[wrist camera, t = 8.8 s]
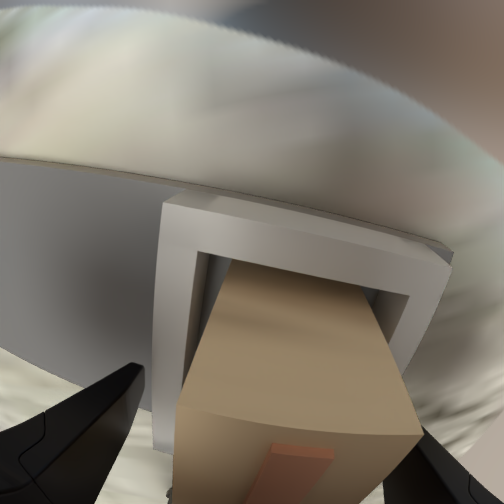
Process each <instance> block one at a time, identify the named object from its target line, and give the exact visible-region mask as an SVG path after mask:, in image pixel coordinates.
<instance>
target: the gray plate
mask: <svg viewBox="0 0 504 504" xmlns="http://www.w3.org/2000/svg"><path fill="white" fill-rule="evenodd" d="M453 253H454V252H453V251H452V250H450V249H449V248H448V247H446V246H445V245H444V244H442V243H440V242H437V241H434V240H430V239H427V238H423V237H420V236H416V235H413V234H409V233H406V232H402V231H398V230H395V229H391V228H387V227H383V226H380V225H376V224H372V223H368V222H364V221H360V220H357V219H353V218H349V217H345V216H341V215H336V214H332V213H328V212H324V211H320V210H316V209H311V208H307V207H303V206H298V205H294V204H290V203H285V202H281V201H276V200H271V199H267V198H262V197H257V196H253V195H248V194H243V193H238V192H233V191H228V190H223V189H218V188H213V187H207V186H202V185H197V184H191V183H186V182H180V181H175V180H169V179H163V178H157V177H151V176H145V175H139V174H132V173H126V172H119V171H113V170H106V169H99V168H92V167H84V166H77V165H69V164H61V163H53V162H44V161H35V160H25V159H15V158H5V157H0V347H1V348H3V349H5V350H7V351H8V352H10V353H12V354H14V355H16V356H18V357H19V358H21V359H23V360H25V361H27V362H29V363H31V364H33V365H35V366H37V367H39V368H41V369H43V370H45V371H47V372H49V373H51V374H54V375H56V376H58V377H60V378H62V379H65V380H67V381H69V382H71V383H74V384H76V385H79V386H81V387H83V388H87V387H88V386H90V385H92V384H94V383H95V382H97V381H99V380H101V379H102V378H104V377H106V376H108V375H109V374H111V373H113V372H114V371H116V370H118V369H120V368H121V367H123V366H125V365H126V364H128V363H130V362H134V363H138V364H141V365H143V366H144V368H145V389H144V392H143V395H142V398H141V401H140V403H139V406H138V408H141V409H144V410H147V411H150V412H152V430H153V449H154V450H158V451H161V452H164V453H168V454H172V455H173V454H174V433H175V416H176V404H177V401H178V398H179V396H180V393H181V390H182V388H183V385H184V382H185V380H186V377H187V374H188V372H189V369H190V366H191V364H192V361H193V359H194V356H195V353H196V351H197V348H198V345H199V343H200V340H201V338H202V335H203V332H204V330H205V327H206V325H207V322H208V319H209V317H210V314H211V312H212V309H213V306H214V304H215V301H216V299H217V296H218V294H219V291H220V289H221V286H222V283H223V281H224V278H225V276H226V273H227V271H228V268H229V266H230V263H231V260H232V258H233V259H237V260H242V261H247V262H251V263H256V264H261V265H265V266H270V267H275V268H279V269H284V270H289V271H293V272H298V273H303V274H307V275H312V276H317V277H322V278H326V279H331V280H336V281H341V282H346V283H350V284H355V285H360V287H361V289H362V291H363V293H364V295H365V297H366V299H367V301H368V303H369V305H370V307H371V309H372V311H373V314H374V316H375V318H376V320H377V322H378V324H379V326H380V329H381V331H382V333H383V335H384V337H385V340H386V342H387V344H388V346H389V349H390V351H391V353H392V355H393V358H394V360H395V362H396V365H397V367H398V369H399V372H400V374H401V377H402V375H403V373H404V372H405V370H406V368H407V366H408V364H409V363H410V361H411V359H412V357H413V355H414V353H415V351H416V349H417V348H418V346H419V344H420V342H421V340H422V338H423V336H424V334H425V332H426V330H427V328H428V326H429V323H430V321H431V319H432V317H433V315H434V313H435V310H436V308H437V306H438V304H439V302H440V299H441V297H442V295H443V292H444V290H445V287H446V285H447V283H448V280H449V278H450V275H451V273H452V270H453V268H452V267H451V266H450V265H449V264H450V262H451V259H452V256H453Z"/></svg>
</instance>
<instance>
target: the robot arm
mask: <svg viewBox="0 0 504 504" xmlns="http://www.w3.org/2000/svg"><path fill="white" fill-rule="evenodd" d="M144 389H145V368H144V366H143V365H141V364H138V363H134V362H130V363H128V364H126V365H125V366H123V367H121V368H120V369H118V370H116V371H114V372H113V373H111V374H109V375H108V376H106V377H104V378H102V379H101V380H99V381H97V382H95V383H94V384H92V385H90V386H88V387H87V388H85V389H83V390H81V391H80V392H78V393H76V394H74V395H73V396H71V397H69V398H67V399H65V400H64V401H62V402H60V403H58V404H57V405H55V406H53V407H51V408H49V409H47V410H46V411H45V412H42V413H40V414H38V415H36V416H35V417H33V418H31V419H29V420H27V421H25V422H23V423H21V424H18V425H16V426H14V427H11V428H9V429H6V430H4V431H1V432H0V504H94V503H95V501H96V499H97V497H98V495H99V493H100V491H101V489H102V487H103V485H104V483H105V480H106V478H107V476H108V474H109V472H110V470H111V468H112V466H113V464H114V462H115V460H116V458H117V456H118V454H119V452H120V450H121V448H122V446H123V444H124V442H125V440H126V438H127V436H128V434H129V432H130V429H131V426H132V423H133V421H134V418H135V415H136V412H137V409H138V406H139V403H140V401H141V398H142V395H143V392H144ZM421 427H422V430H423V433H424V435H423V436H422V438H421V439H420V440H419V441H418V443H417V444H416V445H415V446H414V447H413V448H412V450H411V451H410V452H409V453H408V454H407V455H406V456H405V458H404V459H403V460H402V461H401V462H400V463H399V464H398V465H397V466H396V467H395V469H394V470H393V471H392V472H391V473H390V474H389V475H388V476H387V477H386V478H385V479H384V480H383V491H384V501H385V504H504V503H503V502H502V501H500V500H499V499H498V498H496V497H495V496H494V495H493V494H492V493H490V492H489V491H488V490H487V489H486V488H484V486H483V485H481V484H480V483H479V482H478V481H477V480H476V479H475V478H474V477H473V476H472V475H471V474H469V472H468V471H467V470H466V469H465V468H464V467H463V466H462V465H461V464H460V463H459V462H458V461H457V460H456V459H455V458H454V457H453V456H452V455H451V454H450V453H449V452H448V451H447V450H446V449H445V448H444V447H443V446H442V445H441V444H440V443H439V442H438V441H437V440H436V439H435V438H434V437H433V436H432V435H431V434H430V433H429V432H428V431H427V430H426V429H425V428H424V427H423V426H422V425H421ZM166 497H167V498H169V500H168V504H172V489H171V490H168V491H167V494H166Z"/></svg>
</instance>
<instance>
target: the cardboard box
mask: <svg viewBox="0 0 504 504" xmlns="http://www.w3.org/2000/svg"><path fill="white" fill-rule="evenodd" d="M423 435H424V433H423V430H422V427H421V424H420V422H419V419H418V417H417V414H416V411H415V409H414V406H413V404H412V401H411V399H410V396H409V394H408V391H407V389H406V386H405V384H404V381H403V379H402V377H401V374H400V372H399V369H398V367H397V365H396V362H395V360H394V358H393V355H392V353H391V351H390V349H389V346H388V344H387V342H386V340H385V337H384V335H383V333H382V331H381V329H380V326H379V324H378V322H377V320H376V318H375V316H374V314H373V311H372V309H371V307H370V305H369V303H368V301H367V299H366V297H365V295H364V293H363V291H362V289H361V287H360V285H355V284H350V283H346V282H341V281H336V280H331V279H326V278H322V277H317V276H312V275H307V274H303V273H298V272H293V271H289V270H284V269H279V268H275V267H270V266H265V265H261V264H256V263H251V262H247V261H242V260H237V259H233V258H232V260H231V263H230V266H229V268H228V271H227V273H226V276H225V278H224V281H223V283H222V286H221V289H220V291H219V294H218V296H217V299H216V301H215V304H214V306H213V309H212V312H211V314H210V317H209V319H208V322H207V325H206V327H205V330H204V332H203V335H202V338H201V340H200V343H199V345H198V348H197V351H196V353H195V356H194V359H193V361H192V364H191V366H190V369H189V372H188V374H187V377H186V380H185V382H184V385H183V388H182V390H181V393H180V396H179V398H178V401H177V404H176V416H175V433H174V454H173V483H172V504H359V503H360V502H361V501H362V500H363V499H364V498H365V497H367V496H368V495H369V494H370V493H371V492H372V491H373V490H374V489H375V488H376V487H377V486H378V485H379V484H380V483H381V482H382V481H383V480H384V479H385V478H386V477H387V476H388V475H389V474H390V473H391V472H392V471H393V470H394V469H395V467H396V466H397V465H398V464H399V463H400V462H401V461H402V460H403V459H404V458H405V456H406V455H407V454H408V453H409V452H410V451H411V450H412V448H413V447H414V446H415V445H416V444H417V443H418V441H419V440H420V439H421V438H422V436H423Z"/></svg>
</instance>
